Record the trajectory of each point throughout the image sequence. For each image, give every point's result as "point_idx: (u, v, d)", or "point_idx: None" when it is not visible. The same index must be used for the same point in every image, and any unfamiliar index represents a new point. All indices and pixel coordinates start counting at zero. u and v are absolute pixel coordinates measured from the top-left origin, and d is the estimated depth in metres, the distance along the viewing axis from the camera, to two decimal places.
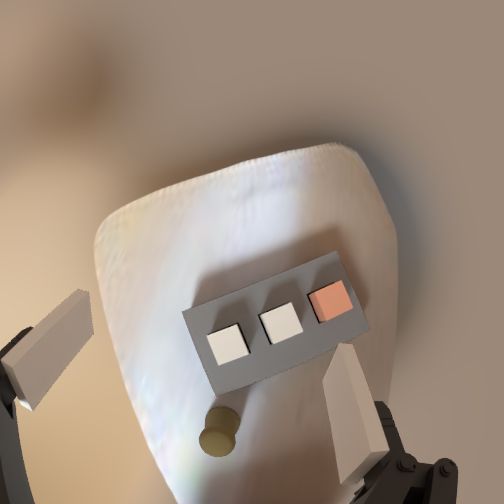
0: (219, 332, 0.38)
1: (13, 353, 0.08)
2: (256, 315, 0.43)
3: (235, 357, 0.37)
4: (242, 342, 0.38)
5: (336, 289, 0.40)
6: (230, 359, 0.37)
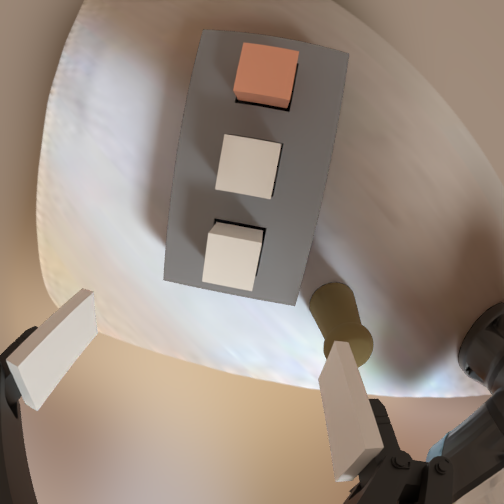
0: (206, 262, 0.24)
1: (18, 353, 0.08)
2: None
3: (254, 263, 0.24)
4: (239, 241, 0.23)
5: (251, 56, 0.19)
6: (253, 271, 0.24)
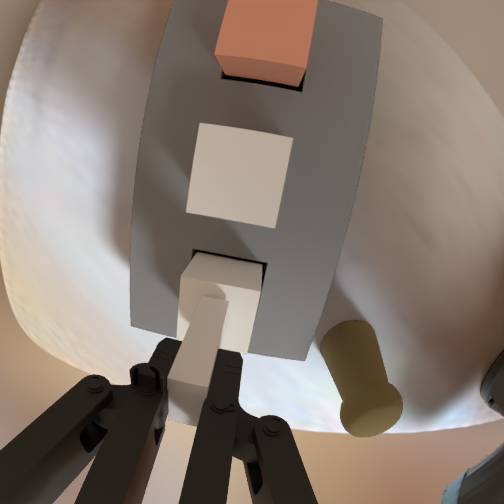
0: (181, 315, 0.16)
1: (178, 368, 0.10)
2: None
3: (250, 319, 0.16)
4: (226, 288, 0.15)
5: (244, 5, 0.10)
6: (248, 329, 0.16)
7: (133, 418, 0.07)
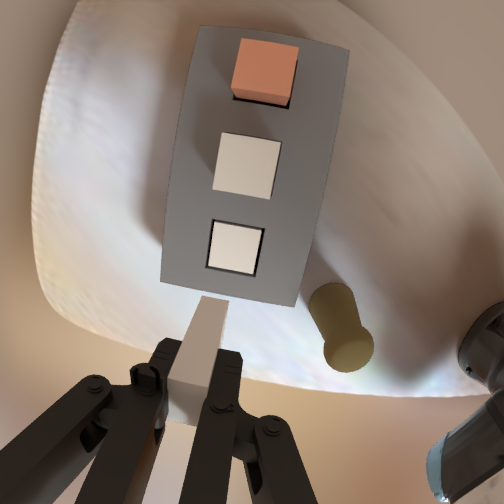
0: (212, 248, 0.27)
1: (178, 368, 0.10)
2: None
3: (255, 248, 0.27)
4: (241, 229, 0.27)
5: (250, 52, 0.18)
6: (254, 256, 0.28)
7: (133, 418, 0.07)
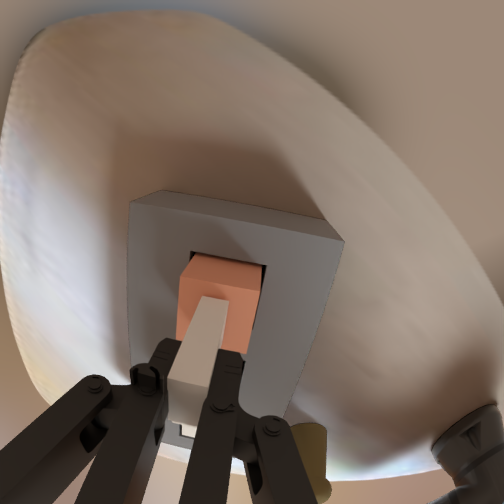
0: (184, 426, 0.25)
1: (178, 368, 0.10)
2: None
3: None
4: None
5: (193, 299, 0.16)
6: None
7: (133, 418, 0.07)
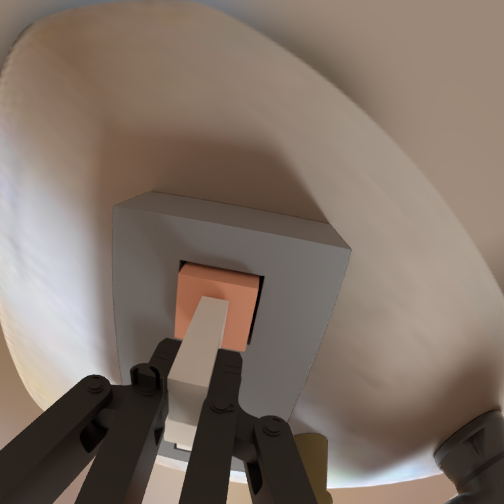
0: None
1: (178, 368, 0.10)
2: None
3: None
4: None
5: (192, 296, 0.16)
6: None
7: (133, 418, 0.07)
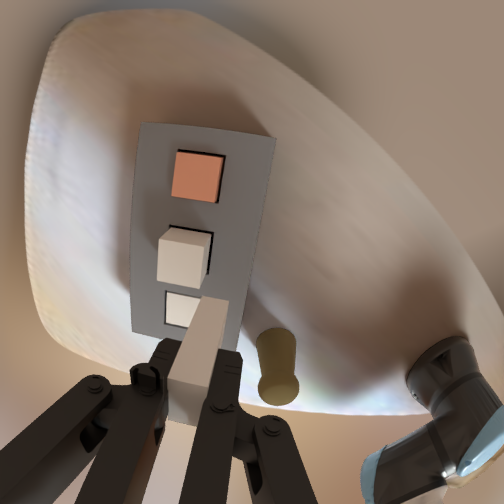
0: (167, 310, 0.34)
1: (178, 368, 0.10)
2: None
3: None
4: (187, 298, 0.33)
5: (183, 165, 0.27)
6: None
7: (133, 418, 0.07)
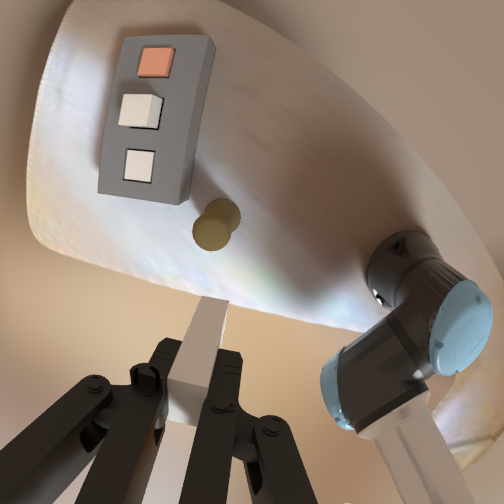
0: (126, 166, 0.39)
1: (178, 368, 0.10)
2: (128, 129, 0.37)
3: (150, 164, 0.39)
4: (142, 152, 0.38)
5: (147, 55, 0.32)
6: (150, 169, 0.39)
7: (133, 418, 0.07)
